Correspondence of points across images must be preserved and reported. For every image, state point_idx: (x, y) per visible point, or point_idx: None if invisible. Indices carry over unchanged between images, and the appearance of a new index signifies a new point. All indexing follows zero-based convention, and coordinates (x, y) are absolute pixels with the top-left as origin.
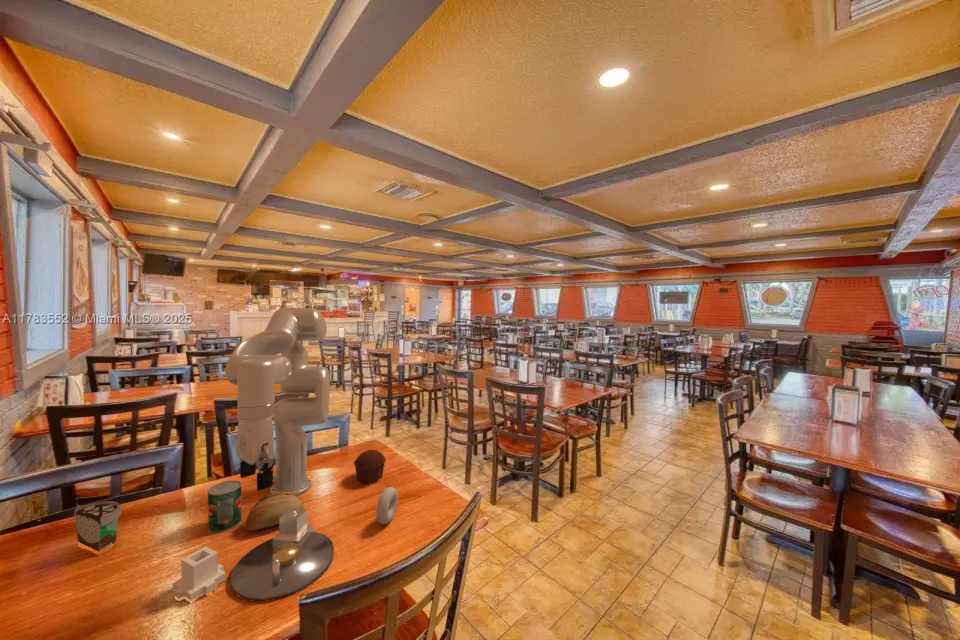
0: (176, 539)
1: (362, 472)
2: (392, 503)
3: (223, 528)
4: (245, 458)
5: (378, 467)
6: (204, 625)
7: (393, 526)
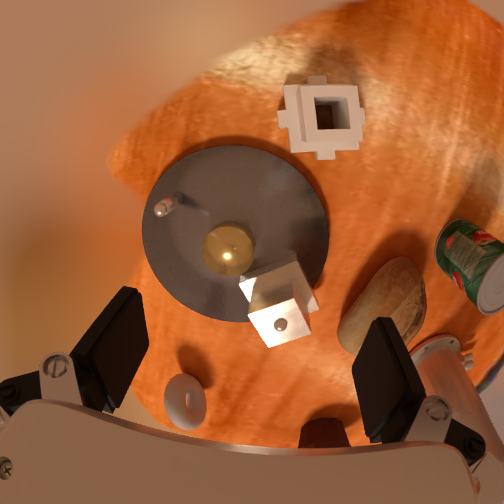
0: (485, 176)
1: (320, 435)
2: (188, 406)
3: (444, 233)
4: (142, 472)
5: None
6: (203, 85)
7: None
